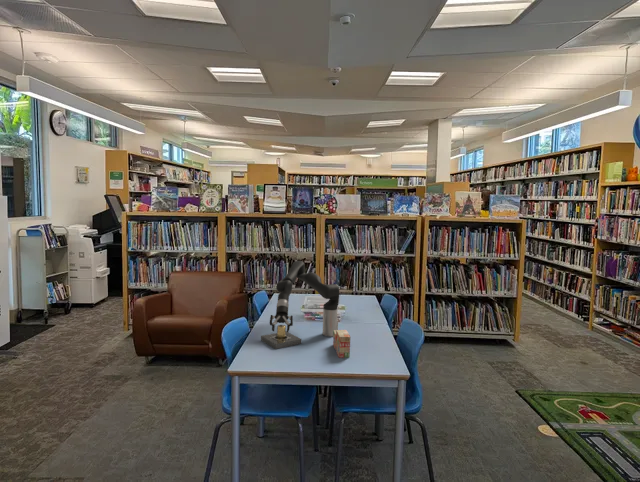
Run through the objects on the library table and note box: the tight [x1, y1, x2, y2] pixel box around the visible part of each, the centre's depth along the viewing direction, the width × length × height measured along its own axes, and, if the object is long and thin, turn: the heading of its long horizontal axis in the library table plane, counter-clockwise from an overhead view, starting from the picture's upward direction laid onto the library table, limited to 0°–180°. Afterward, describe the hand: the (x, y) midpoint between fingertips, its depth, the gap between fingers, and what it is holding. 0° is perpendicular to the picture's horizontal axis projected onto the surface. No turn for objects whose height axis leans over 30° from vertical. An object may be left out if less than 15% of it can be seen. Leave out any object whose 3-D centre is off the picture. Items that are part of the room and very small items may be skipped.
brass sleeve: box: [276, 324, 287, 339], centre depth 250 cm, size 5×5×10 cm
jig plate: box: [260, 330, 303, 350], centre depth 250 cm, size 18×18×3 cm
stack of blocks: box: [332, 329, 351, 359], centre depth 238 cm, size 21×6×12 cm, turn 7°
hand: (280, 331), depth 249 cm, fingers open, 8 cm apart
